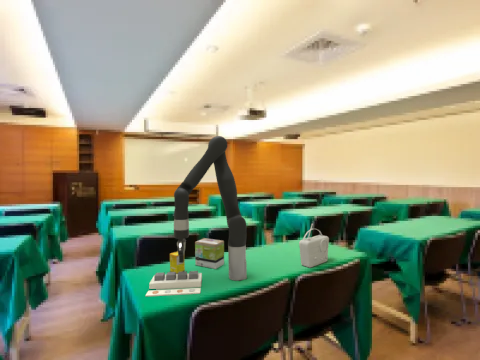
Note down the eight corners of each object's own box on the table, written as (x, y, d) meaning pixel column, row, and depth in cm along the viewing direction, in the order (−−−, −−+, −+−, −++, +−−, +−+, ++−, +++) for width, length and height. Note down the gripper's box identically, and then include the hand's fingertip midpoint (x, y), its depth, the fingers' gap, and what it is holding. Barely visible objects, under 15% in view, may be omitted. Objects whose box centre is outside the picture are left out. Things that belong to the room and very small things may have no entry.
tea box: (194, 265, 164) (194, 241, 164) (204, 260, 173) (204, 237, 173) (215, 269, 157) (215, 244, 157) (224, 264, 166) (224, 240, 166)
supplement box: (178, 269, 158) (177, 250, 158) (185, 271, 154) (184, 252, 154) (169, 272, 153) (169, 253, 153) (176, 275, 150) (176, 255, 149)
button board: (202, 278, 144) (201, 272, 144) (200, 287, 133) (200, 281, 133) (154, 280, 142) (154, 275, 142) (149, 289, 131) (149, 283, 131)
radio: (310, 269, 154) (309, 225, 153) (298, 266, 161) (298, 223, 160) (331, 261, 168) (331, 221, 167) (320, 258, 175) (319, 219, 174)
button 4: (164, 278, 139) (164, 272, 139) (163, 281, 135) (163, 275, 135) (156, 278, 139) (156, 272, 139) (154, 281, 134) (154, 275, 134)
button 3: (176, 277, 140) (175, 271, 139) (174, 280, 135) (174, 274, 135) (167, 278, 139) (167, 272, 139) (166, 281, 135) (166, 275, 135)
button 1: (198, 276, 141) (198, 270, 140) (197, 279, 136) (197, 273, 136) (189, 277, 140) (189, 271, 140) (189, 280, 136) (188, 274, 136)
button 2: (187, 277, 140) (187, 271, 140) (186, 280, 136) (186, 274, 136) (178, 277, 140) (178, 271, 140) (177, 280, 135) (177, 274, 135)
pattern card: (200, 288, 131) (200, 287, 131) (200, 293, 126) (200, 292, 126) (148, 291, 129) (148, 290, 129) (145, 296, 124) (145, 295, 124)
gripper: (187, 230, 131) (187, 266, 131) (190, 225, 144) (190, 257, 144) (171, 230, 130) (171, 266, 131) (175, 225, 143) (175, 258, 144)
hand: (181, 262), depth 138 cm, fingers closed
